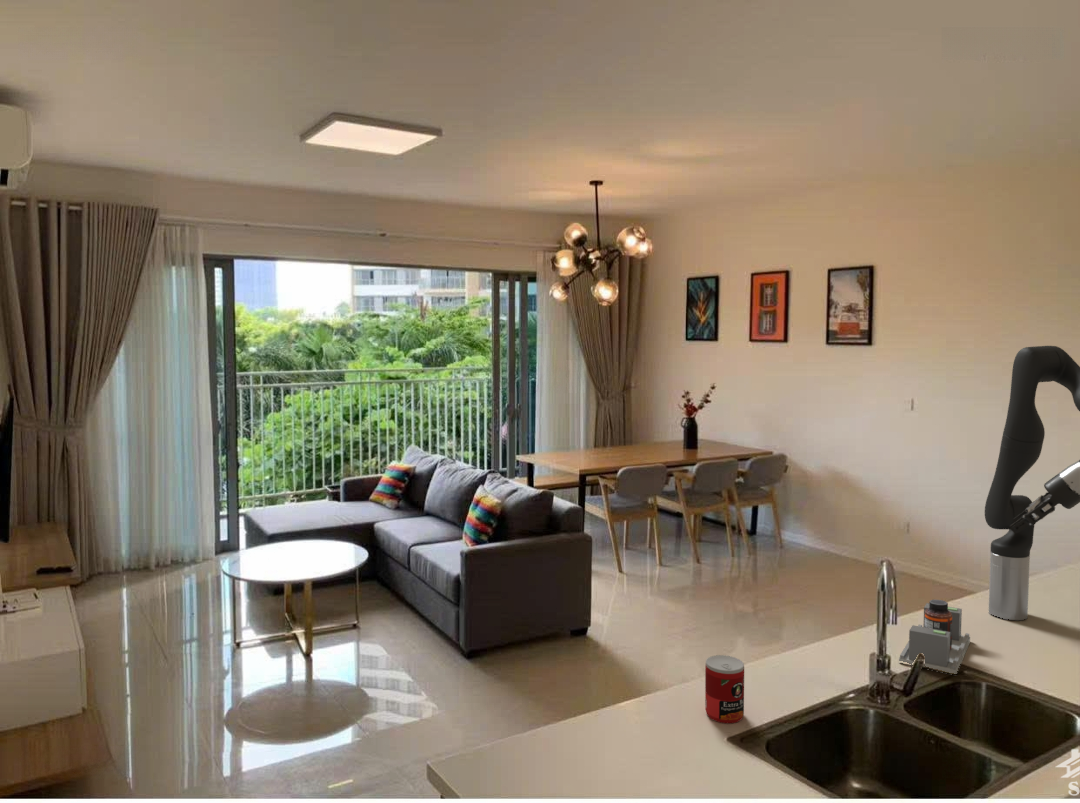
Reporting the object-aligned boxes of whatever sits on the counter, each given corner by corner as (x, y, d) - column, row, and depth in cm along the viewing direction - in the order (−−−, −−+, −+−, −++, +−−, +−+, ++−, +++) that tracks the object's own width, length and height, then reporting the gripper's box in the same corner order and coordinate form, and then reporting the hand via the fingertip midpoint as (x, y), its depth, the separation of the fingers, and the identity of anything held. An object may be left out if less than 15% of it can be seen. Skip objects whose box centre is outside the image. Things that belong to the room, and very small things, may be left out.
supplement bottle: (944, 642, 192) (946, 597, 191) (956, 652, 186) (957, 606, 185) (919, 642, 193) (921, 597, 192) (930, 652, 187) (931, 606, 186)
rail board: (917, 631, 203) (918, 599, 202) (970, 641, 196) (971, 608, 195) (898, 663, 183) (899, 627, 183) (956, 675, 176) (957, 638, 176)
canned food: (722, 727, 154) (723, 673, 153) (697, 711, 161) (697, 659, 160) (752, 718, 157) (752, 665, 156) (725, 702, 164) (726, 652, 163)
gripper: (1061, 468, 187) (1004, 509, 195) (1059, 476, 176) (998, 520, 183) (1087, 492, 185) (1028, 533, 192) (1086, 502, 173) (1024, 545, 181)
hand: (1014, 526), depth 188 cm, fingers open, 8 cm apart
